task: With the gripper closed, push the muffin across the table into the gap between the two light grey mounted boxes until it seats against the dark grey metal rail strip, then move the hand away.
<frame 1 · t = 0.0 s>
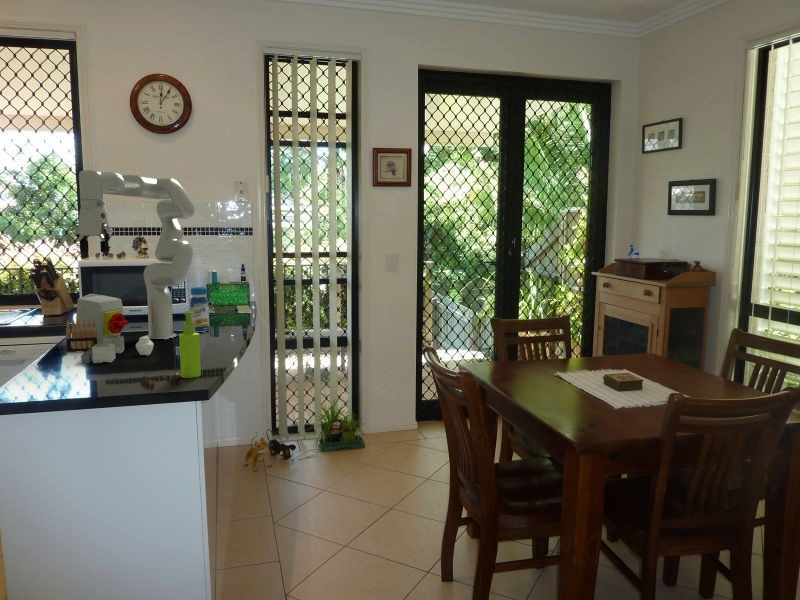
hand: (94, 251, 228), 37 cm above the countertop, tool pointing down, fingers open, 9 cm apart
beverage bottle: (200, 332, 279), on the countertop
electrical switch box: (104, 343, 252), on the countertop
ammunition clip: (82, 351, 234), on the countertop
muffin: (145, 355, 226), on the countertop
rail: (109, 356, 223), on the countertop
soap dispenser: (191, 375, 193), on the countertop
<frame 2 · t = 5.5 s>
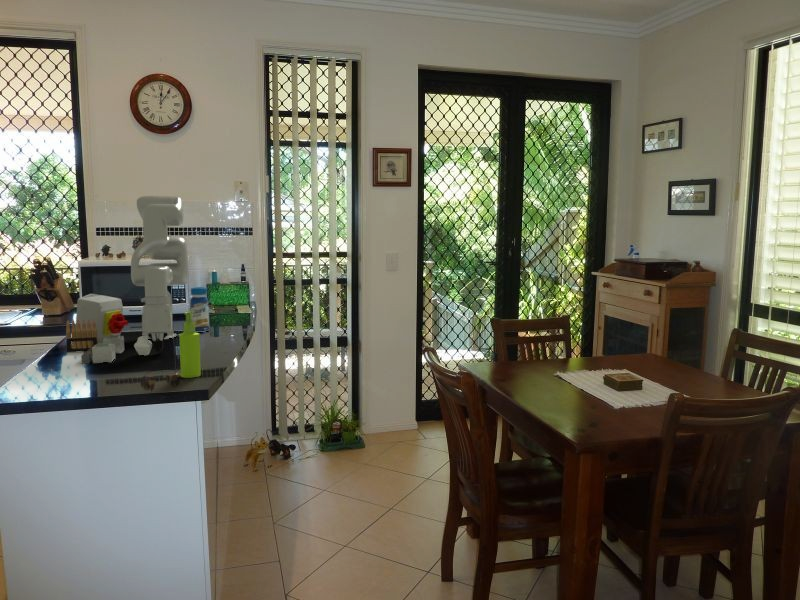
hand: (158, 350, 227), 1 cm above the countertop, tool pointing down, fingers closed
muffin: (144, 355, 226), on the countertop, touching gripper
everything else where it was.
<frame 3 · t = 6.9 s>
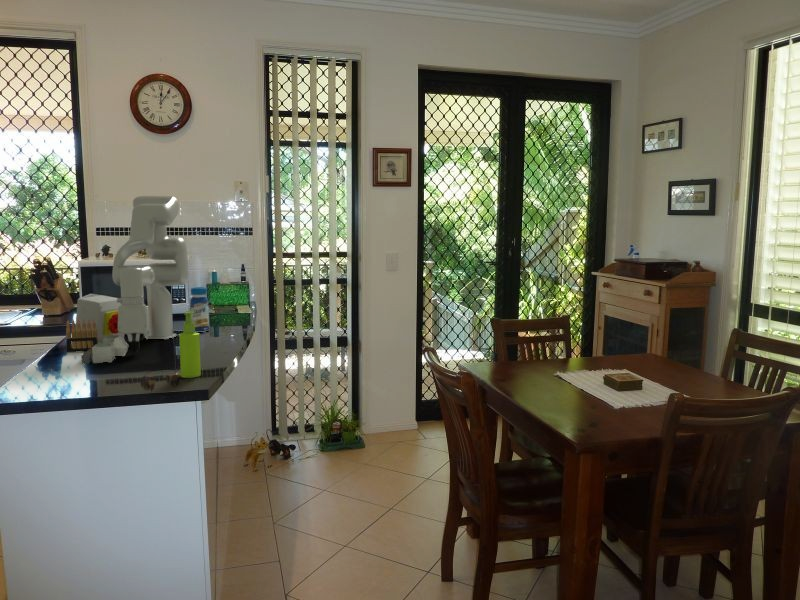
hand: (135, 351, 225), 1 cm above the countertop, tool pointing down, fingers closed
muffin: (120, 356, 224), on the countertop, touching gripper
everything else where it was.
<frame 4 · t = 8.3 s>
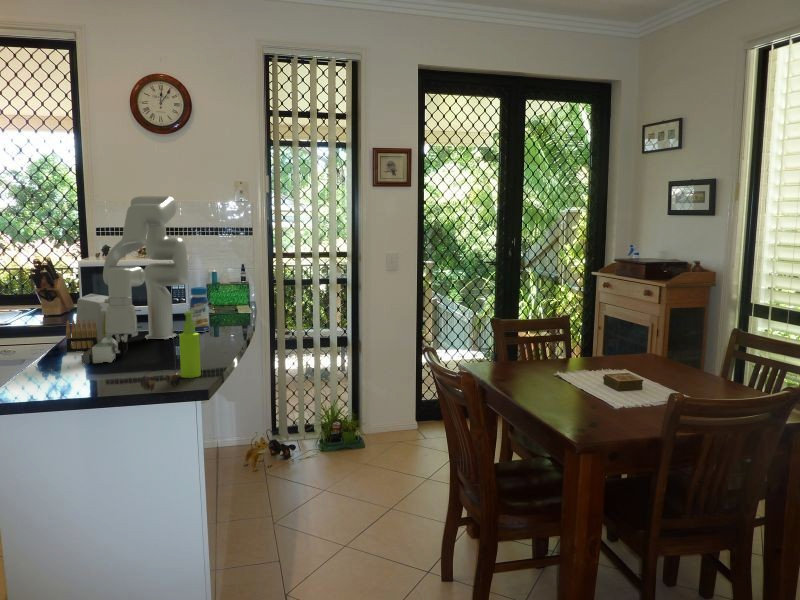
hand: (123, 352, 224), 1 cm above the countertop, tool pointing down, fingers closed
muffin: (107, 357, 223), on the countertop, touching gripper
everything else where it was.
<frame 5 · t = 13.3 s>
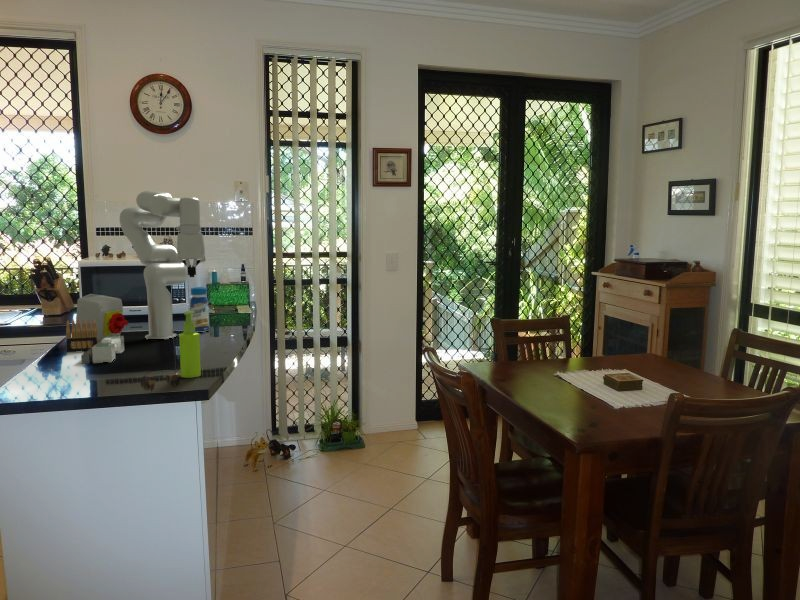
hand: (192, 276, 242), 27 cm above the countertop, tool pointing down, fingers closed
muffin: (107, 357, 223), on the countertop
everything else where it was.
at the end: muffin inside the target area on the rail (0.3 cm from its centre), point 0.0 cm above the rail's base; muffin tilted 0°; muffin moved 12.5 cm from its start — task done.
